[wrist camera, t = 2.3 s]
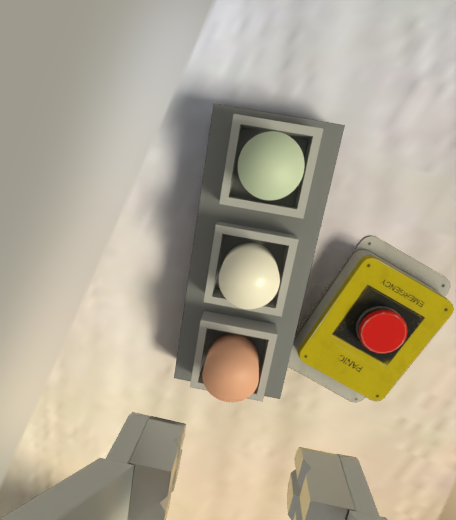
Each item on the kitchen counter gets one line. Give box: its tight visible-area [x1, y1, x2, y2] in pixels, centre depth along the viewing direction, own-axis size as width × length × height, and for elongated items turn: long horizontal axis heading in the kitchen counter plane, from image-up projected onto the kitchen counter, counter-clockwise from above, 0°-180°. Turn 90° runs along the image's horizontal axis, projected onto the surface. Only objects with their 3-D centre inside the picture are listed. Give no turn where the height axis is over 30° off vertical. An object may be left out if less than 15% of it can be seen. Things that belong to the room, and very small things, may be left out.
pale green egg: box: [238, 131, 305, 200], centre depth 24 cm, size 4×4×3 cm
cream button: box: [219, 243, 280, 309], centre depth 26 cm, size 4×4×3 cm
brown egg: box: [202, 334, 259, 402], centre depth 28 cm, size 4×4×3 cm
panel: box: [174, 104, 345, 402], centre depth 29 cm, size 24×10×5 cm, turn 171°
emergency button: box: [288, 236, 454, 403], centre depth 31 cm, size 9×4×15 cm
